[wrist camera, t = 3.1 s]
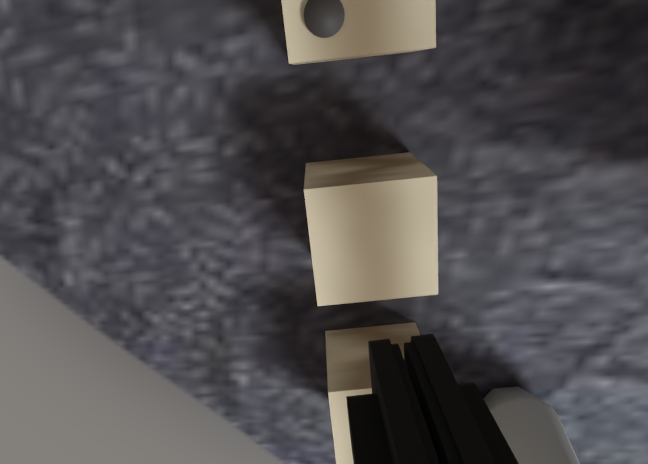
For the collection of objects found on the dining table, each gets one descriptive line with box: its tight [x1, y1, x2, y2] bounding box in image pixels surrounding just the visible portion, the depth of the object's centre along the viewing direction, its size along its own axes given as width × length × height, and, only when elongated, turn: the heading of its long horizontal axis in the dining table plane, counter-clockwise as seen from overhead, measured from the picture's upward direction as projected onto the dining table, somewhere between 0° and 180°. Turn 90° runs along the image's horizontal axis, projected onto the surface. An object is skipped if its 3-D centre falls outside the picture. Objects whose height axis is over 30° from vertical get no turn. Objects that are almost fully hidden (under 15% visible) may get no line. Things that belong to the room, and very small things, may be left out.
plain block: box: [304, 152, 438, 306], centre depth 24 cm, size 6×6×6 cm
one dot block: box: [325, 322, 420, 464], centre depth 27 cm, size 6×6×6 cm
